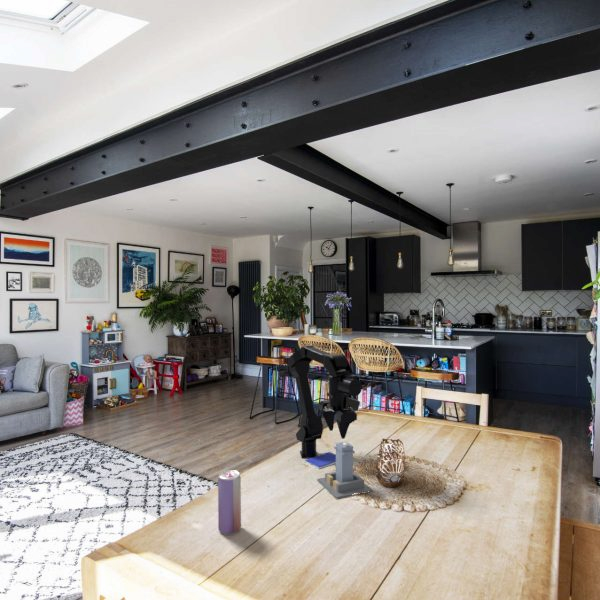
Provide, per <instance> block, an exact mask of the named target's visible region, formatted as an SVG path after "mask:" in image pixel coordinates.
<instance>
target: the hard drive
mask: <svg viewBox="0 0 600 600" xmlns="http://www.w3.org/2000/svg"><path fill="white" fill-rule="evenodd" d="M304 463H306V464H307V463H308V464H307V465H309V464H310V466H311V465H312V467H314V468H315V469H318V470H320V469H323V468H326V467H329V466H332V465H336V453H333V452H331V451H329V452H325V453H322V454H318V456H316V457H312V458H307V459H306V458H305V459H304Z"/></svg>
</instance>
